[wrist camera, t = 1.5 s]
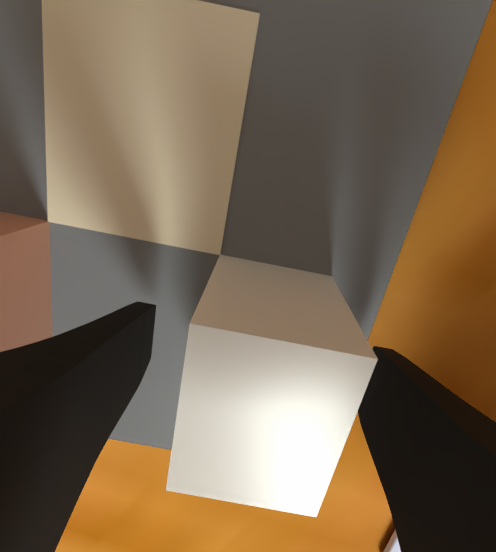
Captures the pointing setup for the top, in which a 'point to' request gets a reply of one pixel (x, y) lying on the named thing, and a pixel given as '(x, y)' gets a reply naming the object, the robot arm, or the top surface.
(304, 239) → the baseplate
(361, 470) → the top surface
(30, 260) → the terracotta brick
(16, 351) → the robot arm
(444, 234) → the top surface
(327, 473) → the white brick
